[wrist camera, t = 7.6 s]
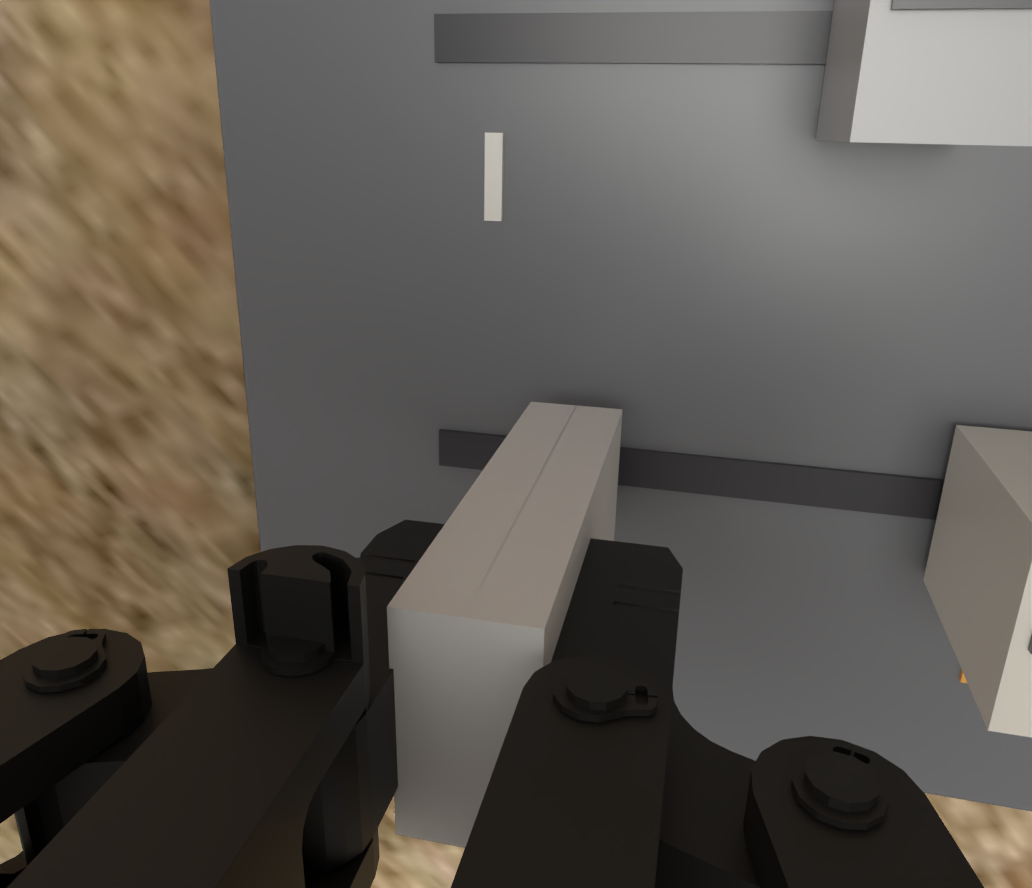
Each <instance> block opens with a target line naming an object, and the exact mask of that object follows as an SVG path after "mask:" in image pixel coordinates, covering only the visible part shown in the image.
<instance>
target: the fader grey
mask: <svg viewBox="0 0 1032 888" xmlns="http://www.w3.org/2000/svg"><path fill="white" fill-rule="evenodd" d="M816 140H821V141H838V142H864V143H907V144H950V145H993V146H1032V0H834V8H833V15H832V23H831V30H830V38H829V45H828V52H827V60H826V67H825V75H824V82H823V90H822V97H821V105H820V112H819V119H818V127H817V134H816Z"/></svg>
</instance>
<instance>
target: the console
mask: <svg viewBox="0 0 1032 888" xmlns="http://www.w3.org/2000/svg"><path fill="white" fill-rule="evenodd" d="M833 8H834V0H210V9H211V20H212V30H213V41H214V52H215V63H216V74H217V84H218V95H219V106H220V117H221V128H222V138H223V149H224V160H225V171H226V182H227V193H228V203H229V214H230V225H231V236H232V247H233V257H234V268H235V279H236V290H237V301H238V312H239V322H240V333H241V344H242V355H243V366H244V376H245V387H246V398H247V409H248V420H249V430H250V441H251V452H252V463H253V474H254V485H255V495H256V506H257V517H258V528H259V539H260V549H261V552H263V551H266V550H269V549H273V548H280V547H286V546H293V545H320V546H327V547H331V548H335V549H339V550H343V551H346V552H347V553H349V554H351V555H352V556H354V557H355V558H357V557H359V558H360V554H361V552H362V551H363V550H364V549H365V548H366V547H367V545H368V544H369V543H370V542H371V541H372V539H373V538H374V537H375V536H376V535H377V534H378V533H380V532H382V531H384V530H386V529H388V528H390V527H392V526H394V525H396V524H398V523H400V522H402V521H404V520H405V519H406V520H414V521H423V522H431V523H440V524H445V523H446V522H447V520H448V519H449V518H450V516H451V515H452V513H453V512H454V511H455V509H456V508H457V506H458V505H459V503H460V502H461V501H462V499H463V498H464V496H465V495H466V493H467V492H468V491H469V489H470V488H471V486H472V485H473V484H474V482H475V481H476V479H477V478H478V476H479V475H480V474H481V472H482V471H483V469H484V468H485V466H486V465H487V464H488V462H489V461H490V459H491V458H492V457H493V455H494V454H495V452H496V451H497V449H498V448H499V447H500V445H501V444H502V442H503V441H504V439H505V438H506V437H507V435H508V434H509V432H510V431H511V429H512V428H513V427H514V425H515V424H516V422H517V421H518V420H519V418H520V417H521V415H522V414H523V412H524V411H525V410H526V408H527V407H528V405H529V404H530V402H541V403H553V404H565V405H577V406H588V407H600V408H612V409H623V410H622V426H621V441H620V457H619V472H618V488H617V503H616V518H615V534H614V541H618V542H627V543H635V544H644V545H652V546H661V547H668V548H669V549H670V551H671V552H672V554H673V555H674V556H675V558H676V559H677V561H678V562H679V564H680V565H681V566H682V568H683V574H682V585H681V597H680V608H679V619H678V631H677V642H676V653H675V665H674V676H673V687H672V688H673V696H674V702H675V704H676V706H677V708H678V710H679V712H680V714H681V715H682V716H683V717H684V718H685V720H686V721H687V722H688V723H689V724H690V725H691V726H692V727H693V728H694V729H695V730H696V731H698V732H699V733H700V734H702V735H703V736H705V737H706V738H707V739H709V740H710V741H712V742H714V743H716V744H718V745H720V746H722V747H724V748H726V749H728V750H730V751H732V752H735V753H737V754H740V755H742V756H745V757H747V758H750V759H752V760H755V761H756V760H757V758H758V756H759V755H760V753H761V751H763V750H765V749H766V748H768V747H770V746H772V745H773V744H775V743H777V742H779V741H780V740H783V739H790V738H797V737H804V736H816V737H824V738H832V739H839V740H844V741H847V742H849V743H852V744H855V745H858V746H860V747H863V748H866V749H868V750H871V751H874V752H876V753H877V754H879V755H881V756H882V757H884V758H885V759H887V760H888V761H890V762H891V763H893V764H895V765H896V766H898V767H899V768H901V769H902V770H904V771H905V772H906V773H907V775H908V776H909V777H910V778H911V779H912V780H913V781H914V782H915V783H916V785H917V786H918V787H919V788H920V789H921V790H922V791H923V792H924V793H929V794H935V795H940V796H946V797H952V798H958V799H964V800H969V801H975V802H981V803H987V804H992V805H998V806H1004V807H1010V808H1015V809H1021V810H1027V811H1032V738H1031V737H1025V736H1019V735H1012V734H1006V733H1000V732H993V731H988V730H987V727H986V725H985V723H984V720H983V718H982V716H981V713H980V711H979V709H978V706H977V704H976V702H975V699H974V697H973V695H972V692H971V690H970V688H969V685H968V683H967V681H966V678H965V676H964V674H963V671H962V669H961V667H960V664H959V662H958V660H957V657H956V655H955V653H954V650H953V648H952V646H951V644H950V641H949V639H948V637H947V634H946V632H945V630H944V627H943V625H942V623H941V620H940V618H939V616H938V613H937V611H936V609H935V606H934V604H933V602H932V599H931V597H930V595H929V592H928V590H927V588H926V585H925V583H924V581H923V580H924V575H925V571H926V566H927V561H928V556H929V552H930V547H931V542H932V537H933V533H934V528H935V523H936V518H937V514H938V509H939V504H940V500H941V495H942V490H943V485H944V481H945V476H946V471H947V466H948V462H949V457H950V452H951V447H952V443H953V438H954V433H955V428H956V425H964V426H975V427H986V428H998V429H1009V430H1021V431H1032V146H993V145H950V144H907V143H864V142H838V141H821V140H816V134H817V127H818V119H819V112H820V105H821V97H822V90H823V82H824V75H825V67H826V60H827V52H828V45H829V38H830V30H831V23H832V15H833Z"/></svg>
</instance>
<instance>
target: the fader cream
mask: <svg viewBox="0 0 1032 888" xmlns="http://www.w3.org/2000/svg"><path fill="white" fill-rule="evenodd" d="M923 581H924V583H925V585H926V588H927V590H928V592H929V595H930V597H931V599H932V602H933V604H934V606H935V609H936V611H937V613H938V616H939V618H940V620H941V623H942V625H943V627H944V630H945V632H946V634H947V637H948V639H949V641H950V644H951V646H952V648H953V650H954V653H955V655H956V657H957V660H958V662H959V664H960V667H961V669H962V671H963V674H964V676H965V678H966V681H967V683H968V685H969V688H970V690H971V692H972V695H973V697H974V699H975V702H976V704H977V706H978V709H979V711H980V713H981V716H982V718H983V720H984V723H985V725H986V727H987V730H988V731H993V732H1000V733H1006V734H1012V735H1019V736H1025V737H1031V738H1032V431H1021V430H1009V429H998V428H986V427H975V426H964V425H956V428H955V433H954V438H953V443H952V447H951V452H950V457H949V462H948V466H947V471H946V476H945V481H944V485H943V490H942V495H941V500H940V504H939V509H938V514H937V518H936V523H935V528H934V533H933V537H932V542H931V547H930V552H929V556H928V561H927V566H926V571H925V575H924V580H923Z"/></svg>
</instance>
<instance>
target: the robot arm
mask: <svg viewBox="0 0 1032 888" xmlns="http://www.w3.org/2000/svg"><path fill="white" fill-rule="evenodd" d="M622 410H623V409H612V408H600V407H588V406H577V405H565V404H553V403H541V402H530V404H529V405H528V407H527V408H526V410H525V411H524V412H523V414H522V415H521V417H520V418H519V420H518V421H517V422H516V424H515V425H514V427H513V428H512V429H511V431H510V432H509V434H508V435H507V437H506V438H505V439H504V441H503V442H502V444H501V445H500V447H499V448H498V449H497V451H496V452H495V454H494V455H493V457H492V458H491V459H490V461H489V462H488V464H487V465H486V466H485V468H484V469H483V471H482V472H481V474H480V475H479V476H478V478H477V479H476V481H475V482H474V484H473V485H472V486H471V488H470V489H469V491H468V492H467V493H466V495H465V496H464V498H463V499H462V501H461V502H460V503H459V505H458V506H457V508H456V509H455V511H454V512H453V513H452V515H451V516H450V518H449V519H448V520H447V522H446V523H445V524H440V523H431V522H423V521H414V520H406V519H405V520H404V521H402V522H400V523H398V524H396V525H394V526H392V527H390V528H388V529H386V530H384V531H382V532H380V533H378V534H377V535H376V536H375V537H374V538H373V539H372V541H371V542H370V543H369V544H368V545H367V547H366V548H365V549H364V550H363V551H362V552H361V554H360V558H359V557H357V558H355V557H354V556H352V555H351V554H349V553H347V552H346V551H343V550H339V549H335V548H331V547H327V546H320V545H293V546H286V547H280V548H273V549H269V550H266V551H263V552H260V553H257V554H254V555H251V556H248V557H246V558H244V559H242V560H241V561H239V562H238V563H236V564H234V565H233V566H231V567H230V568H228V577H229V586H230V594H231V603H232V612H233V621H234V630H235V638H236V645H235V646H234V647H233V648H232V649H231V650H230V651H229V652H228V653H227V654H226V655H225V656H224V657H223V659H222V660H221V661H220V662H219V663H218V664H217V665H216V666H215V667H214V668H211V669H202V670H185V671H167V672H150V673H147V668H146V662H145V656H144V652H143V649H142V645H141V642H139V641H138V640H136V639H135V638H133V637H132V636H130V635H129V634H127V633H123V632H118V631H113V630H107V629H89V630H86V629H82V630H73V631H69V632H67V633H65V634H60V635H56V636H52V637H48V638H46V639H43V640H41V641H39V642H36V643H34V644H32V645H29V646H27V647H24V648H22V649H20V650H18V651H16V652H15V653H13V654H11V655H9V656H7V657H5V658H3V659H2V660H0V823H2V822H3V821H4V820H6V819H7V818H9V817H10V816H11V815H13V814H15V819H16V823H17V827H18V831H19V835H20V839H21V844H22V848H23V851H22V852H21V853H20V854H19V855H17V856H16V857H14V858H12V859H10V860H8V861H6V862H4V863H2V864H0V888H370V887H371V884H372V882H373V880H374V878H375V875H376V870H377V865H378V861H379V840H378V826H379V824H380V822H381V820H382V818H383V816H384V814H385V812H386V810H387V808H388V806H389V804H390V802H391V800H392V798H393V796H394V798H395V823H396V834H397V835H402V836H407V837H412V838H418V839H423V840H428V841H433V842H438V843H443V844H448V845H453V846H458V847H463V848H465V850H464V853H463V856H462V858H461V861H460V864H459V867H458V869H457V872H456V875H455V878H454V880H453V883H452V886H451V888H984V887H983V885H982V884H981V882H980V880H979V879H978V877H977V876H976V874H975V872H974V871H973V869H972V868H971V866H970V865H969V863H968V861H967V860H966V858H965V857H964V855H963V853H962V852H961V850H960V849H959V847H958V846H957V844H956V842H955V841H954V839H953V838H952V836H951V834H950V833H949V831H948V830H947V828H946V827H945V825H944V823H943V822H942V820H941V819H940V817H939V815H938V814H937V812H936V811H935V809H934V808H933V806H932V804H931V803H930V801H929V800H928V798H927V796H926V795H925V793H924V792H923V791H922V790H921V789H920V788H919V787H918V786H917V785H916V783H915V782H914V781H913V780H912V779H911V778H910V777H909V776H908V775H907V773H906V772H905V771H904V770H902V769H901V768H899V767H898V766H896V765H895V764H893V763H891V762H890V761H888V760H887V759H885V758H884V757H882V756H881V755H879V754H877V753H876V752H874V751H871V750H868V749H866V748H863V747H860V746H858V745H855V744H852V743H849V742H847V741H844V740H839V739H832V738H824V737H816V736H804V737H797V738H790V739H783V740H780V741H779V742H777V743H775V744H773V745H772V746H770V747H768V748H766V749H765V750H763V751H761V753H760V755H759V756H758V758H757V760H756V761H755V760H752V759H750V758H747V757H745V756H742V755H740V754H737V753H735V752H732V751H730V750H728V749H726V748H724V747H722V746H720V745H718V744H716V743H714V742H712V741H710V740H709V739H707V738H706V737H705V736H703V735H702V734H700V733H699V732H698V731H696V730H695V729H694V728H693V727H692V726H691V725H690V724H689V723H688V722H687V721H686V720H685V718H684V717H683V716H682V715H681V714H680V712H679V710H678V708H677V706H676V704H675V702H674V696H673V688H672V687H673V676H674V665H675V653H676V642H677V631H678V619H679V608H680V597H681V585H682V574H683V568H682V566H681V565H680V564H679V562H678V561H677V559H676V558H675V556H674V555H673V554H672V552H671V551H670V549H669V548H668V547H661V546H652V545H644V544H635V543H627V542H618V541H614V534H615V518H616V503H617V488H618V472H619V457H620V441H621V426H622Z"/></svg>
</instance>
